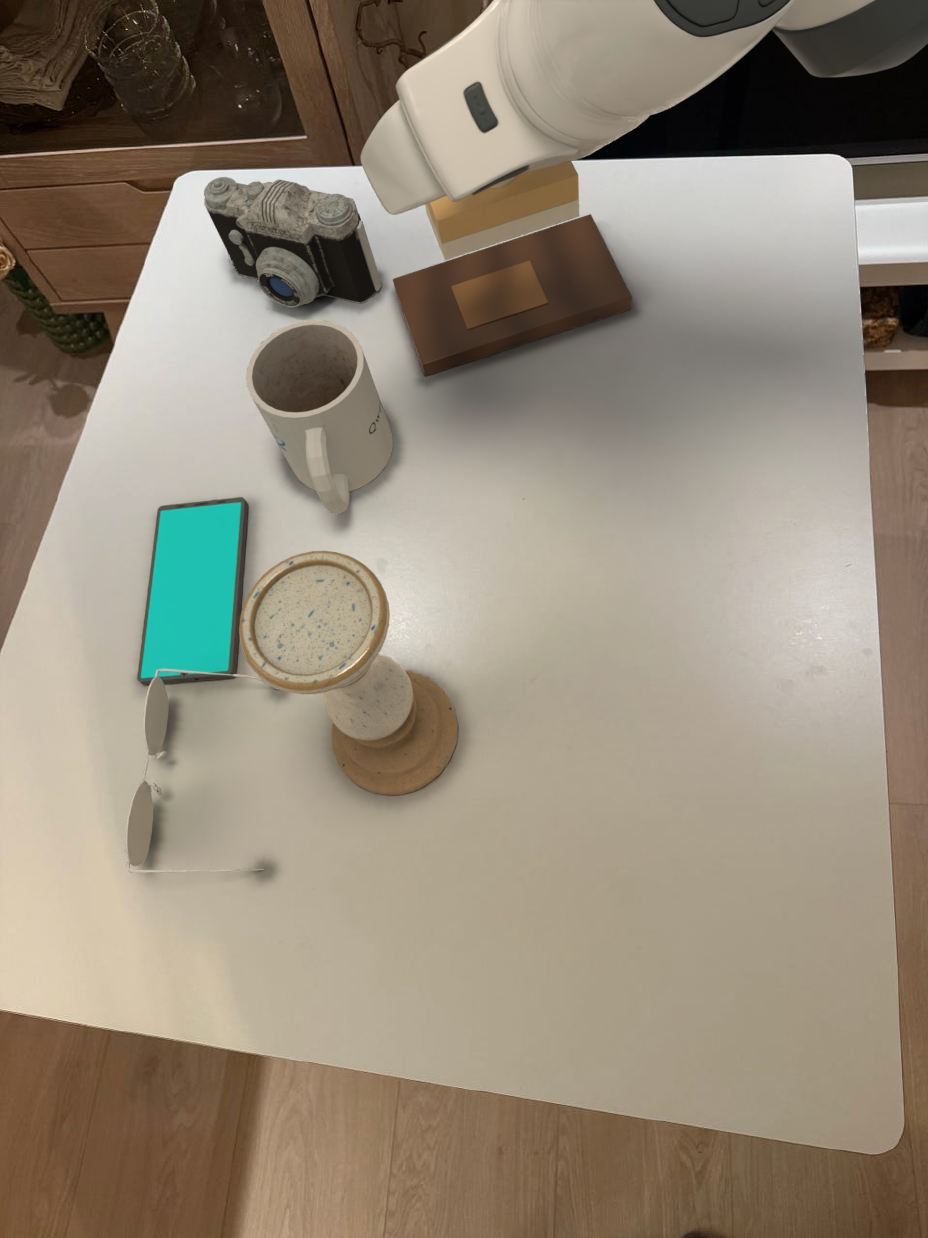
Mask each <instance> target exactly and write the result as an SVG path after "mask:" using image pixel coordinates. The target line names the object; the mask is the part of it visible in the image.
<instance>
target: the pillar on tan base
mask: <svg viewBox="0 0 928 1238" xmlns="http://www.w3.org/2000/svg"><path fill="white" fill-rule="evenodd" d="M572 161H573V160H572ZM572 161H565V162H562V163H560V164H557V165H553V166H549V167H545V168H540V169H535V170H530V171H526V172H523V173H521V174H519V175H517V176H515V177H513V178H510V179H507V180H505V181H502V182H500V183H498V184H495V185H493V186H491V187H489V188H487V189H485V190H483V191H481V192H479V193H478V194H476V195H474V196H473V195H470V196H468V197H466V198H465V199H463V200H461V201H459V202H452V201H451V200H450V199H449V198H448V196H444V197H442V198H440V199H437V200H435V201H433V202H430V203H427V204H425V205H424V209H425V213H426V215H427V218H428V220H429V223H430V225H431V228H432V231H433V233H434V236H435V239H436V241H437V243H438V246H439V249H440V252H441V254H442V256H443V259H444V261H448V260H451V259H455V258H458V257H461V256H464V255H467V254H470V253H473V252H476V251H479V250H482V249H485V248H488V247H491V246H494V245H497V244H500V243H504V242H507V241H510V240H513V239H516V238H519V237H522V236H525V235H528V234H531V233H534V232H537V231H540V230H543V229H546V228H550V227H553V226H556V225H559V224H562V223H565V222H568V221H571V220H574V219H577V218H580V196H579V195H580V189H579V188H580V187H579V184H580V183H579V173H578V171H577V169H576V168H575V165H574V163H573V162H572Z"/></svg>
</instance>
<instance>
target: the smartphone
mask: <svg viewBox="0 0 928 1238" xmlns="http://www.w3.org/2000/svg"><path fill="white" fill-rule="evenodd" d="M248 514H249V503H248V502H247V500H246V499H245V498H244V497H243V496H238V497H229V498H221V499H220V498H219V499H211V500H202V501H201V500H200V501H193V502H185V503H176V504H174V503H173V504H165V505H160V506H159V507H158V508H157V512H156V520H155V527H154V528H155V529H154V534H153V535H154V536H153V544H152V553H151V559H150V560H151V561H150V570H149V577H148V585H147V594H146V603H145V609H144V619H143V627H142V635H141V642H140V643H141V644H140V652H139V658H138V659H139V660H138V668H137V676H136V679H137V681H138V682H139V683H141V684H142V685H143V686H149V685H150V683H151V681H152V680H153V678H155V674H156V671H157V670H158V669H174V670H185V671H196V672H208V673H219V674H230V675H214V674H196V673H179V672H159V674H158V677H160V678H161V679H162V681H163V683H164V685H165V684H167V685H168V684H176V683H177V684H178V683H179V684H180V683H192V682H202V681H203V682H204V681H215V680H226V679H233V678H235V676H232V675H233V674H237V664H238V650H239V640H240V634H239V624H240V617H241V612H242V597H243V584H244V583H243V581H244V571H245V570H244V568H245V555H246V542H247V541H246V540H247V530H248V529H247V528H248V527H247V526H248Z"/></svg>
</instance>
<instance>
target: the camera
mask: <svg viewBox="0 0 928 1238" xmlns="http://www.w3.org/2000/svg"><path fill="white" fill-rule="evenodd" d="M203 196H204V198H203V200H204V203H203V204H204V207H205V208H206V211H207V213H208V215H209V217H210V219H211V221H212V223H213V225H214V227H215V230H216V231H217V233H218V235H219V237H220V240H221V242H222V243H223V246H224V248H225V250H226V252H227V254H228V256H229V258H230V260H231V262H232V264H233V266H234V268H235V271H236V272H237V274H238V276H242V277H245V278H250V279H254V280H257V282H258V285H259V287H260V289H261V291H262V292H263V293H264V295H266V296H267V297H268V298H269V299H270V300H271V301H273V302H274V303H276V304H278V305H280V306H282V307H285V308H290V309H292V308H293V309H294V308H298V307H299V306H303V305H307V304H310V303H311V302H313V301H314V299H316V298H319V297H322V296H326V297H330V298H334V299H337V300H341V301H347V302H351V303H356V304H361V305H362V304H363V303H366V302H368V301H369V300H371V298H373V297H374V296H375V294H377V292H379V291H380V290H381V287H382V281H381V278H380V274H379V270H378V268H377V265H376V261H375V257H374V255H373V251H372V247H371V244H370V240H369V238H368V234H367V231H366V228H365V224H364V221H363V220H362V219H361V215H360V213H359V211H358V208H357V204H356V201H355V200H354V198H352V197H346V196H345V195H344V194H340V193H326V192H323V191H317V190H312V189H310V188H308V187H307V185H303V184H302V185H301V184H300V183H298V182H295V181H289V180H284V179H276V180H274V181H266V182H260V181H258V180H257V181H252V182H250V183H248V184H245V183H240V182H236V180H235V179H233V178H231V177H228V176H219V177H216V178H213V179H212V180H211V181H210V182H209V181H208V183H207V184H206V186H205V187H204V190H203Z"/></svg>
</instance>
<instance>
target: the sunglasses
mask: <svg viewBox="0 0 928 1238" xmlns="http://www.w3.org/2000/svg"><path fill="white" fill-rule="evenodd" d="M159 672H179V673H196V674H214V675H230V674H219V673H208V672H196V671H185V670H174V669H158V670H157V671H156V674H155V678H153V680H152V681H151V683H150V685H148V689H147V692H146V696H145V701H144V707H143V718H142V730H143V731H142V733H143V740H144V745H145V748H146V752H145V765H144V769H143V774H142V781H141V782H140V783H139V784H138V785H137V787H136V788H135V791H134V793H133V795H132V797H131V801H130V804H129V807H128V813H127V817H126V825H125V834H124V835H125V840H124V846H125V853H126V859H127V862H126V871H128V872H129V873H131V874H153V873H154V874H155V873H157V874H158V873H159V874H160V873H161V874H162V873H191V872H193V873H195V872H196V873H197V872H198V873H199V872H211V873H220V872H221V873H226V872H228V873H229V872H242V871H265V868H230V869H229V868H226V869H225V868H220V869H219V868H218V869H216V868H215V869H213V868H212V869H193V870H192V869H131V866H133V867H139V866H141V865H143V864H144V862H145V861H146V859H147V857H148V854H149V850H150V845H151V841H152V835H153V825H154V801H153V794H152V787H153V790H154V791H155V792H156V793H157V795H158V796H159V797H160V796H162V795H163V790H162V787H161V786H160V784H159V783H158V782H157V781H156V780H153V784H149V782H148V781H146V776H147V771H148V767H149V755H150V756H156V760H157V761H159V760H162V759H163V758H164V757H165V756H166V755H167V754H168V751H167V750H164V751H161V750H162V747H163V745H164V742H165V738H166V734H167V728H168V719H169V697H168V691H167V688H166V685H165V684H164V683H163V681H162V679H161V678H160V677H158V674H159ZM232 676H234V678H235V677H238V678H249V679H254V680H258V681H259V682H263V683H264V684H266V685H268V686H270V687H272V688H273V689H275V690H277V691H279V690H280V689H278V688H276V687H274V686H272V685H270V684H268V683H267V682H266V681H264V680H263V679H262V678H260V677H259V676H254V675H250V674H249V675H248V674H239V673H236V674H233V675H232Z"/></svg>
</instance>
